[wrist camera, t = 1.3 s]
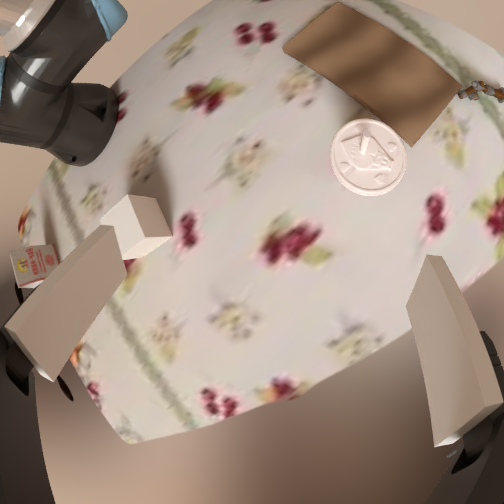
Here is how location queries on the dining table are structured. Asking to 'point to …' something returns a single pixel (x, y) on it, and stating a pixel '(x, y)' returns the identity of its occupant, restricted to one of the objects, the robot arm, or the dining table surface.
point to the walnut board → (375, 69)
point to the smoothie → (368, 157)
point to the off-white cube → (137, 225)
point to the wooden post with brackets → (471, 92)
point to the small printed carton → (33, 264)
